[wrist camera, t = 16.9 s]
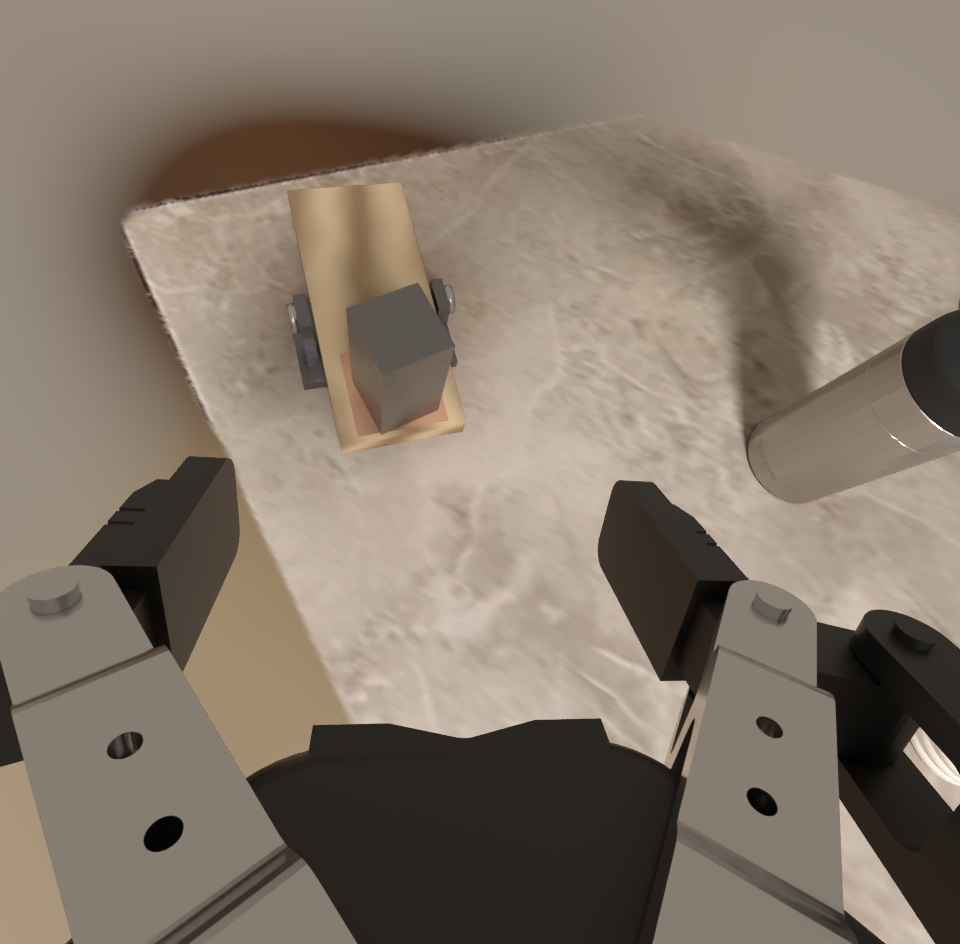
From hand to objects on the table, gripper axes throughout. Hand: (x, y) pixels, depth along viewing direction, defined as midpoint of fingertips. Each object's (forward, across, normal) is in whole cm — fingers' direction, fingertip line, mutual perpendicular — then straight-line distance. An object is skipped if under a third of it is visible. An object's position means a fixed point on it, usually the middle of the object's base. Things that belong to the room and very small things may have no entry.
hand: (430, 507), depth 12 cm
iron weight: (+32, +1, +9) cm, 33 cm away
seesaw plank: (+38, +3, +4) cm, 39 cm away
